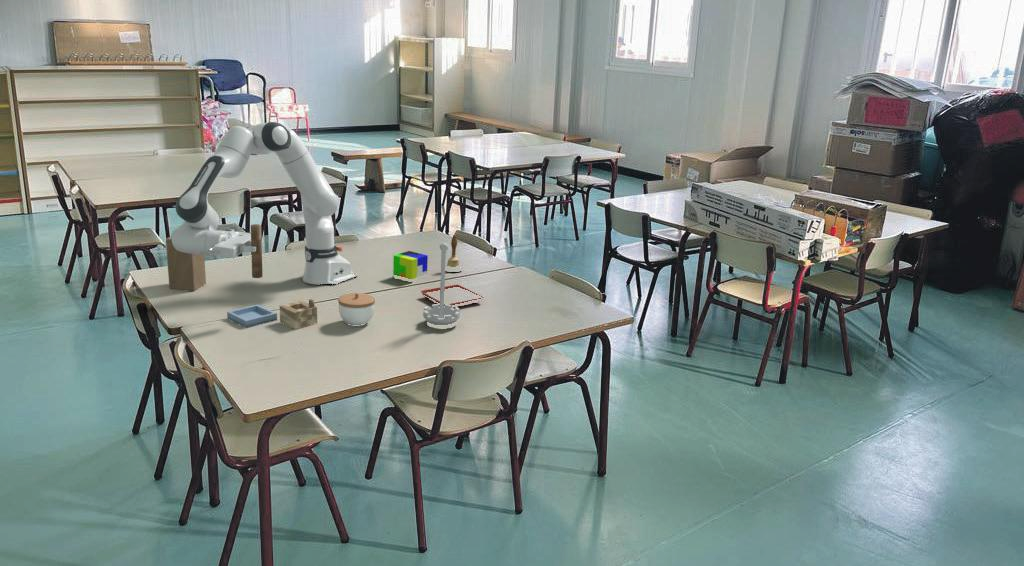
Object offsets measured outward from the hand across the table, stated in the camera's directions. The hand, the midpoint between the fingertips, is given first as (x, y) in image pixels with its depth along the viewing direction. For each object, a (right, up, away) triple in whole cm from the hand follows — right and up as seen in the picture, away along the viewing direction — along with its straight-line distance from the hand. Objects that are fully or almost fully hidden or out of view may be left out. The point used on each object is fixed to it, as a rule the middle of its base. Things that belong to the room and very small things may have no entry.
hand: (259, 247), depth 267 cm
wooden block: (-39, -14, +37) cm, 56 cm away
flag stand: (+60, -27, +15) cm, 68 cm away
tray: (-5, -25, +8) cm, 26 cm away
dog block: (+11, -26, +8) cm, 29 cm away
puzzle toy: (+43, -10, +64) cm, 78 cm away
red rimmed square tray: (+62, -20, +40) cm, 76 cm away
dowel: (-2, -10, +3) cm, 11 cm away
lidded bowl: (+31, -26, +11) cm, 42 cm away
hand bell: (+60, -7, +78) cm, 99 cm away
